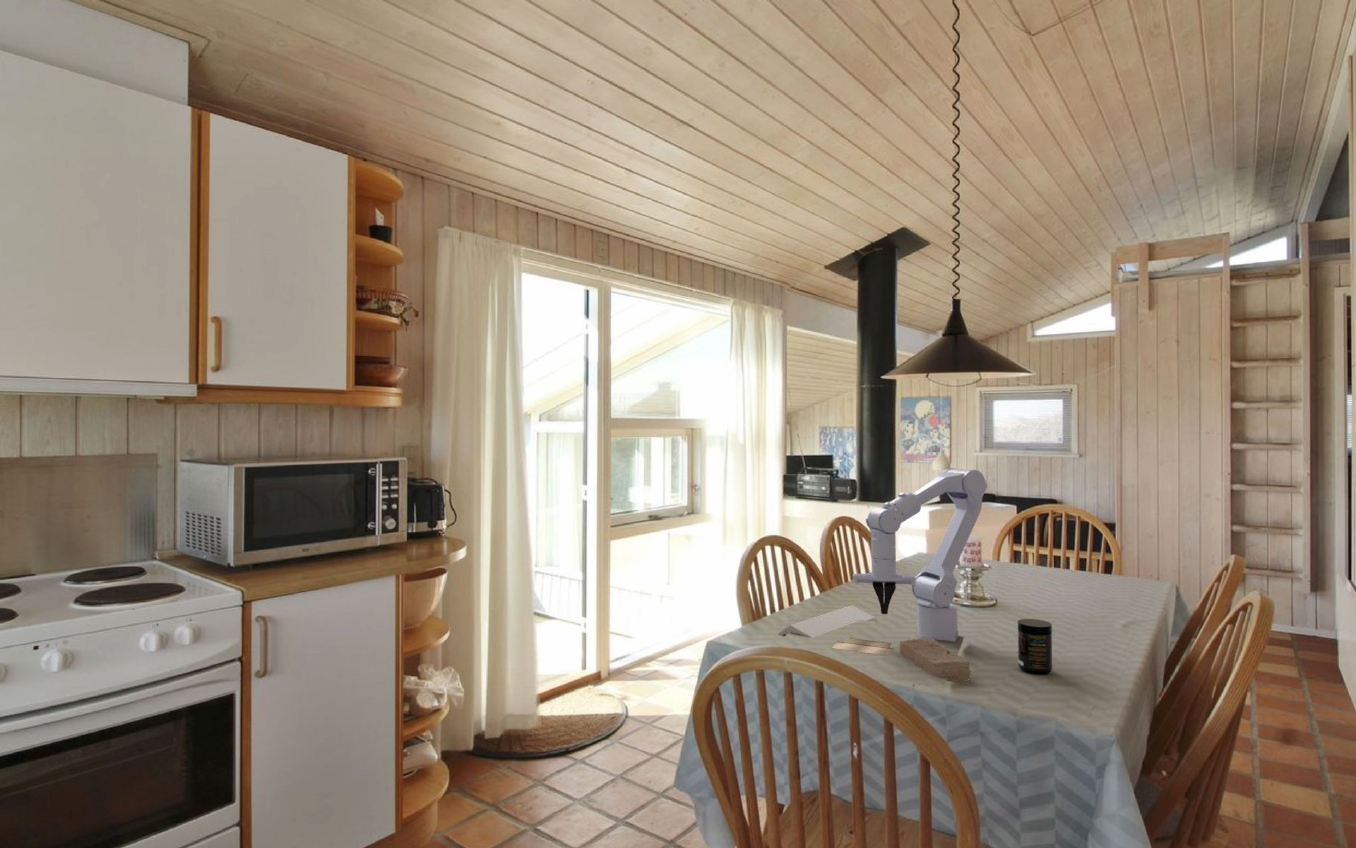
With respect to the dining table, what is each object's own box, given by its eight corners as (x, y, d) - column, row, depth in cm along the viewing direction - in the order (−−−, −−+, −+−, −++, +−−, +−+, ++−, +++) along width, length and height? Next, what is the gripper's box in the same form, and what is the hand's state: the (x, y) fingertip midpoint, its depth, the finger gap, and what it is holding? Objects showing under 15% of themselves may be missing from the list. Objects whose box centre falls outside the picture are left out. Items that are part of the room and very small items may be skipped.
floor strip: (892, 653, 170) (892, 647, 170) (887, 660, 164) (887, 654, 164) (838, 646, 175) (837, 640, 175) (831, 653, 170) (831, 647, 170)
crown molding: (817, 645, 178) (817, 631, 178) (777, 636, 186) (777, 622, 186) (877, 623, 198) (877, 610, 198) (838, 615, 207) (838, 603, 207)
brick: (972, 681, 151) (972, 659, 151) (935, 684, 150) (935, 661, 150) (931, 657, 168) (931, 637, 168) (898, 660, 166) (897, 639, 166)
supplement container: (1059, 675, 154) (1058, 626, 154) (1029, 676, 153) (1028, 627, 154) (1040, 665, 161) (1040, 618, 161) (1011, 666, 160) (1011, 619, 160)
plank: (894, 645, 177) (894, 639, 177) (888, 652, 170) (888, 647, 170) (853, 639, 181) (853, 634, 181) (846, 647, 175) (846, 641, 175)
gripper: (912, 555, 178) (913, 610, 178) (852, 553, 181) (853, 608, 181) (916, 560, 171) (916, 617, 171) (853, 558, 174) (854, 615, 174)
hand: (884, 613), depth 176 cm, fingers closed
